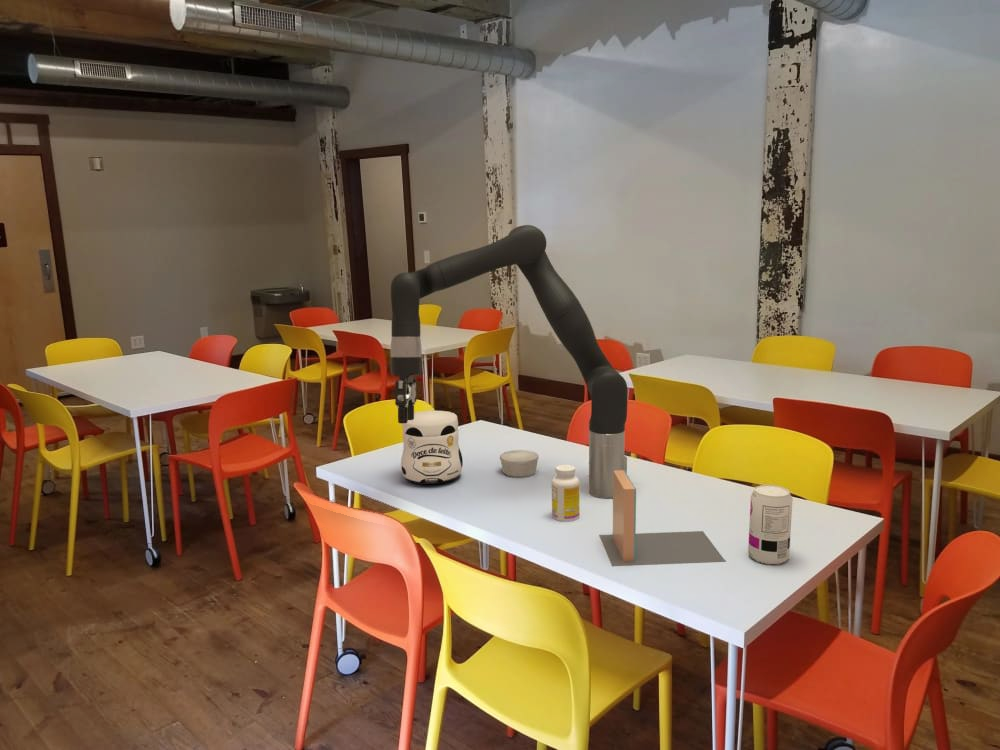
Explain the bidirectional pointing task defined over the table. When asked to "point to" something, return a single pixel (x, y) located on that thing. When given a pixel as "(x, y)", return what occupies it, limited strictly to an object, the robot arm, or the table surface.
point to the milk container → (431, 448)
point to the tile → (624, 515)
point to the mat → (665, 549)
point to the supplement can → (770, 524)
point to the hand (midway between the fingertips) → (406, 421)
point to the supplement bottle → (565, 494)
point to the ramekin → (519, 463)
